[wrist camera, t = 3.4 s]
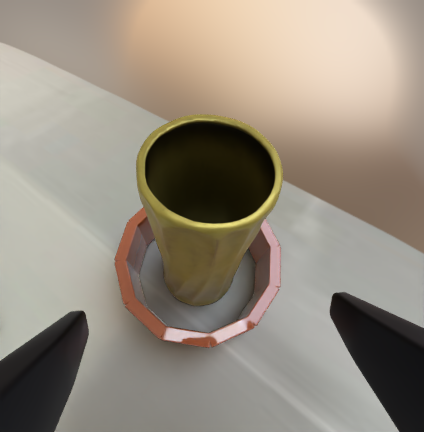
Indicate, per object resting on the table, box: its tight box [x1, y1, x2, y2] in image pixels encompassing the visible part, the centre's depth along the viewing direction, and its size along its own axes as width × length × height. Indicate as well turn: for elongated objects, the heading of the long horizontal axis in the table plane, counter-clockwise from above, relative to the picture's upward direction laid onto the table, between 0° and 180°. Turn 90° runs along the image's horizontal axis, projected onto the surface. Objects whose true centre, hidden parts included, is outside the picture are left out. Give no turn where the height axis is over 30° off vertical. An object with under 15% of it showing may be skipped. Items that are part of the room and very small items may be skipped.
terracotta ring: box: [114, 207, 281, 348], centre depth 19 cm, size 12×12×4 cm
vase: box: [136, 115, 283, 306], centre depth 15 cm, size 6×6×14 cm
